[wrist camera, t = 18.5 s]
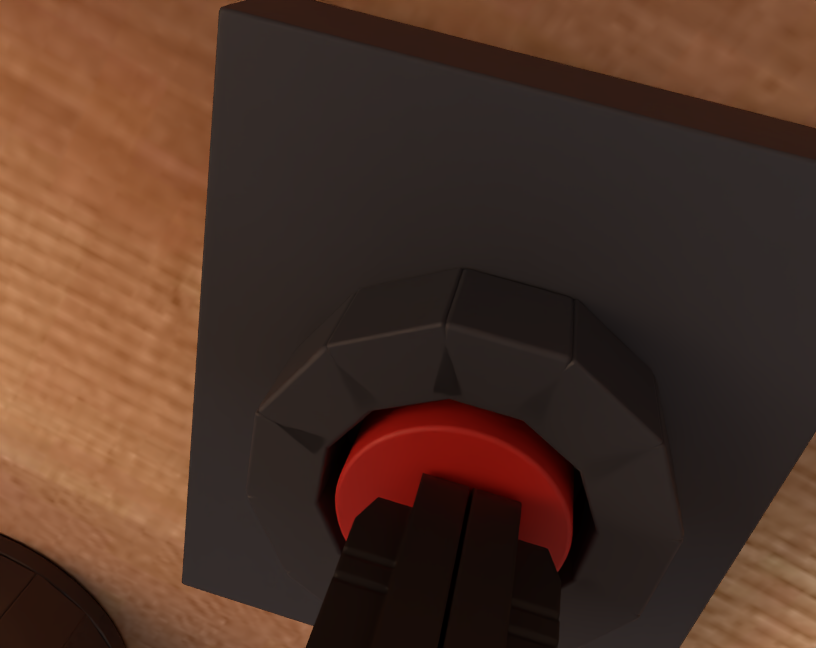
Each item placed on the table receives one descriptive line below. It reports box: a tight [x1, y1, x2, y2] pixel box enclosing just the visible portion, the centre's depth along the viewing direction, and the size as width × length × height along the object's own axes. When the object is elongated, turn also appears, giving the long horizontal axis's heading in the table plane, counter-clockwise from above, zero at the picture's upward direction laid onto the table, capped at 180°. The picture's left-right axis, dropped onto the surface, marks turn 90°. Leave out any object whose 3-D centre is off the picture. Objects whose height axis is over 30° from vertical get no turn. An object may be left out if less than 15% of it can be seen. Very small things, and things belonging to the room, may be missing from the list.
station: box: [182, 0, 816, 648], centre depth 13 cm, size 12×10×4 cm
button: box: [335, 399, 574, 572], centre depth 12 cm, size 4×4×2 cm
